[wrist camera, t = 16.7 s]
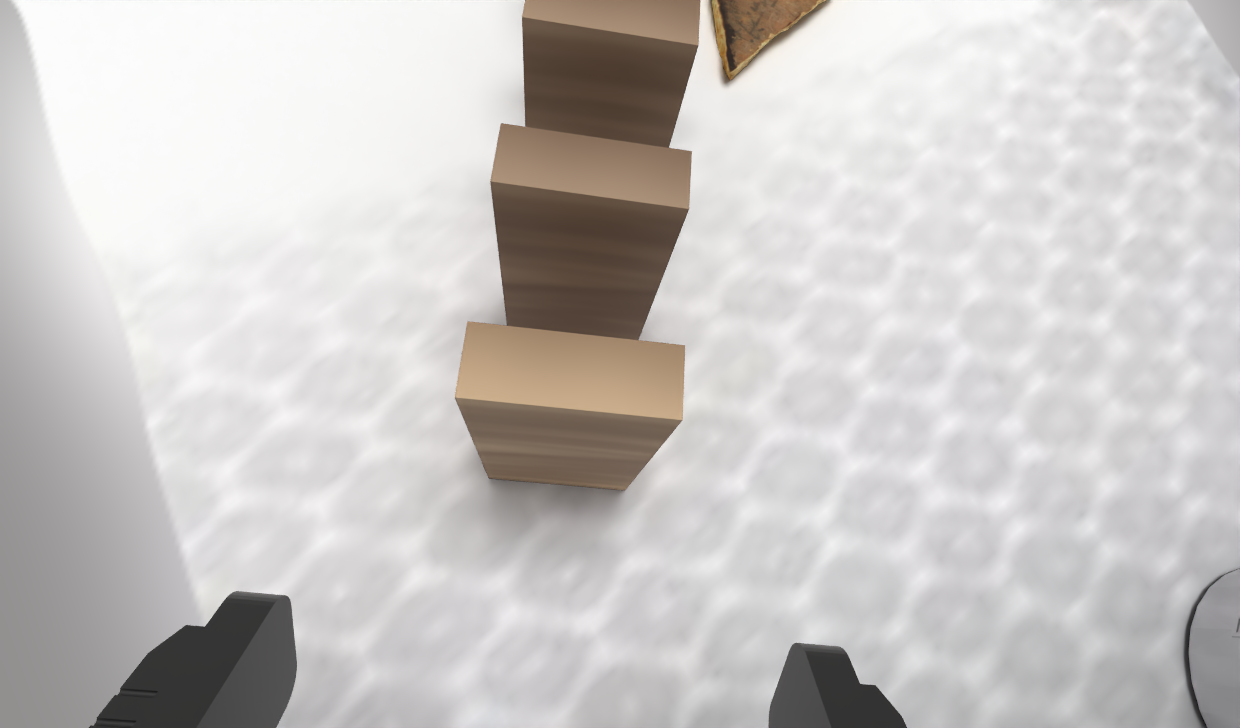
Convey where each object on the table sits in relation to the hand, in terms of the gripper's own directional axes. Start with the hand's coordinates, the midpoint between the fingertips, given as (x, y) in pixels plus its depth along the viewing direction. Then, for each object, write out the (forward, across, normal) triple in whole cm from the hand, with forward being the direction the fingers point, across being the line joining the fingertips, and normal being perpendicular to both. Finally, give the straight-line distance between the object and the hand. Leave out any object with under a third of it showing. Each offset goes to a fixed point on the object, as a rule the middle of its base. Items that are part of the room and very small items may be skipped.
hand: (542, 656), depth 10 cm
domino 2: (+16, 0, +1) cm, 17 cm away
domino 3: (+13, 0, +4) cm, 13 cm away
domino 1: (+20, 0, -3) cm, 21 cm away
